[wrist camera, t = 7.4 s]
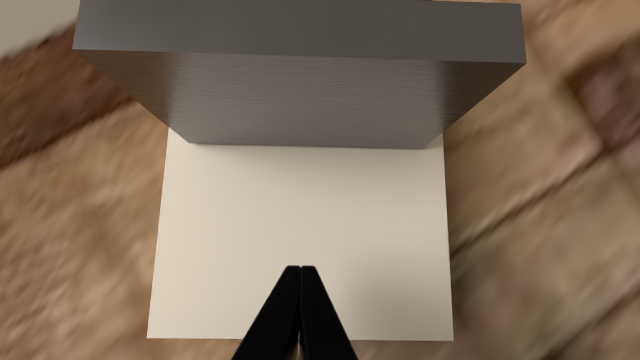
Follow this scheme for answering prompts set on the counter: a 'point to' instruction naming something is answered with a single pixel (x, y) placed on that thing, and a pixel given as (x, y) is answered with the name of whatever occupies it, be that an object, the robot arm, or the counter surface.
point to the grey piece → (304, 66)
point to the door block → (302, 237)
